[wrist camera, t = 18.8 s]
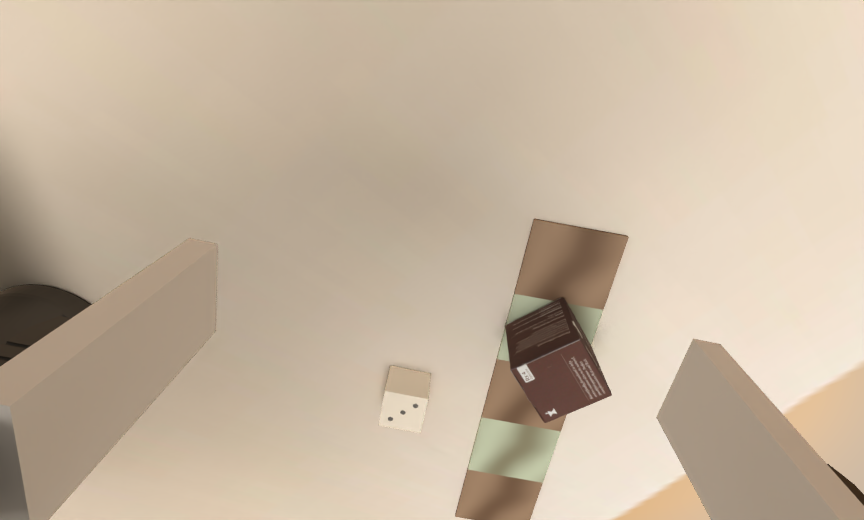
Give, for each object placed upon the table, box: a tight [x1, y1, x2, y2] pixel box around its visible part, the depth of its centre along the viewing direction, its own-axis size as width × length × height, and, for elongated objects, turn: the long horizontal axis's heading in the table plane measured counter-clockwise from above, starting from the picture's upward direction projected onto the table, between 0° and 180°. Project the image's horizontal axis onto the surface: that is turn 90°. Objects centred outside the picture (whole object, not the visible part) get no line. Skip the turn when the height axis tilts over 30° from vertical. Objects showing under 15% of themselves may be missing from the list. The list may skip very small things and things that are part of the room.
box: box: [505, 298, 612, 423], centre depth 42 cm, size 6×6×7 cm
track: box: [456, 219, 629, 520], centre depth 48 cm, size 8×35×1 cm, turn 170°
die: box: [378, 366, 431, 433], centre depth 47 cm, size 4×4×4 cm
